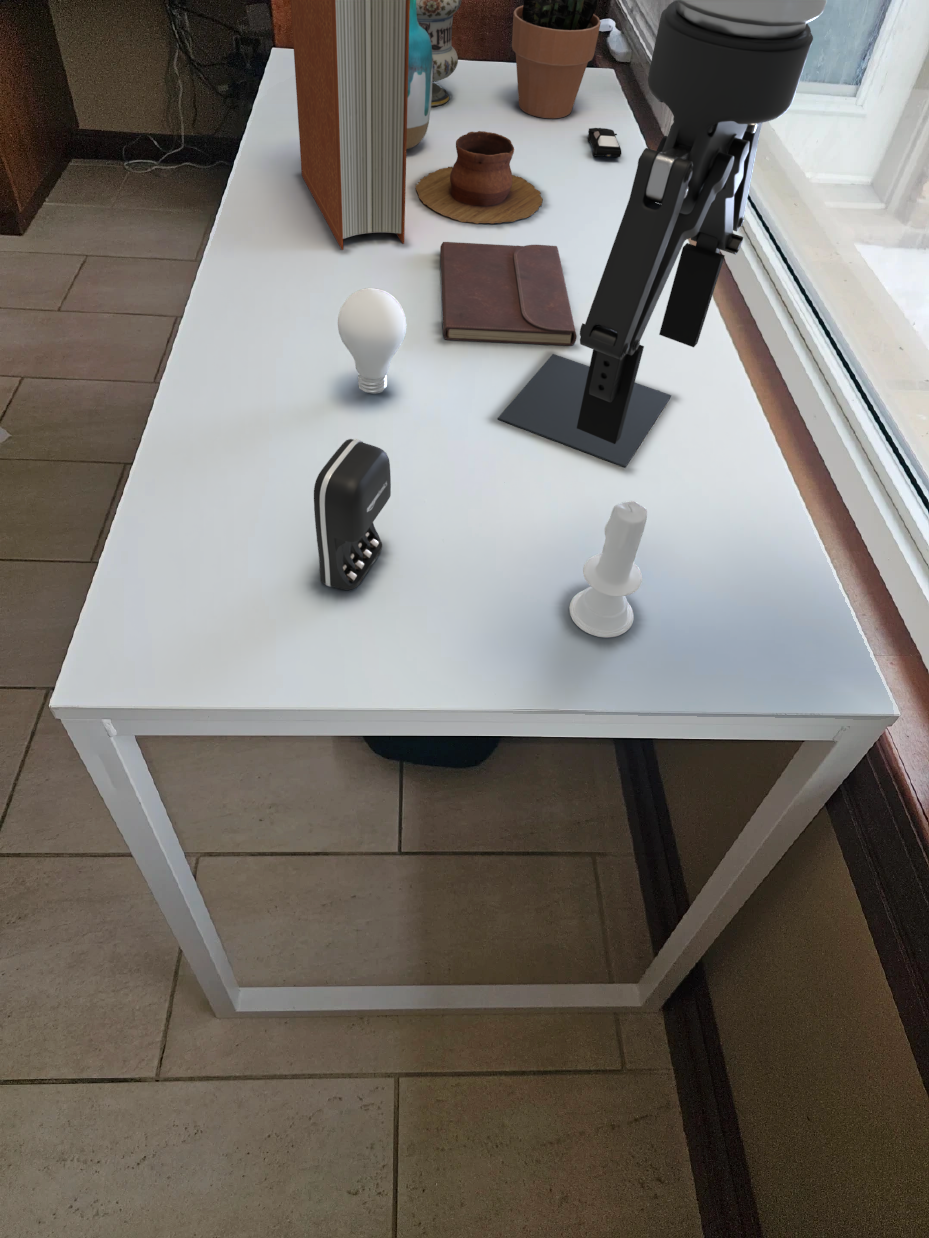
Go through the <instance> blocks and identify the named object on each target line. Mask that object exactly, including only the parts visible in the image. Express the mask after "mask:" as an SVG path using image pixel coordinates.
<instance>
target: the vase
mask: <svg viewBox="0 0 929 1238" xmlns="http://www.w3.org/2000/svg"><path fill="white" fill-rule="evenodd" d="M432 76H433V61H432V46H431V41H430V37H429V35H428V33H427V32H426V30H424V29H423V28H422V27H421V26H419V24H418V21H417V10H416V0H410V17H409V60H408V103H407V146H406V150H408V149H411V148H414V147H416V146H417V145H419V144H420V143H421V142H422V141H423V139H424V137H425V136H426V134H427V131H428V127H429V123H430V116H431V110H432V109H431V108H432V106H431V99H432V83H433V82H432Z"/></svg>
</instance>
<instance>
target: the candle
mask: <svg viewBox="0 0 929 1238" xmlns="http://www.w3.org/2000/svg"><path fill="white" fill-rule="evenodd" d="M647 519H648V510H647V508H646V507H645V506H643V505H640V504H639V503H638V502H636V501H635V500H634V501H633V500H629V501H623V502H620V503H617V504H615V505H614V506H613V508H612V510H611V513H610V516H609V519H608V520H607V522H606V524H605V526H604V537H605V539H604V543H603V546H602V550H601V553H597V554H594V555H592V556H591V557H589V558H588V559H587V560H586V561H585V563H584V564H583V567H582V574H583V577H584V580H585V581H586V583H587V584H588V585H589V586H587V588H585V589H584V590H581V591H579V592H578V593H577V594H575V595H574V596H573V597H572V599H571V601H570V603H569V615H570V617H571V619H572V621H573V622H574V624H575V625H576V626H577V627H578V628H579V629H580V630H582V631H583V632H584V633H586V634H589V635H592V636H595V637H598V638H615V637H619V636H621V635H623V634H625V633H626V632H627V631H629V630H630V628H631V627H632V625H633V623H634V619H635V618H634V615H635V614H634V611H633V608H632V607H631V604H630V603H629V601H628V599H627V596H630V595H633V594H634V593H635V592H637V591H638V590H639V589H640V588H641V586H642V583H643V574H642V571H641V569H640V567H639V566H638V565H637V564H636V563H635V559H636V556H637V552H638V551H639V547H640V544H641V540H642V538H643V535H644V531H645V528H646V523H647Z"/></svg>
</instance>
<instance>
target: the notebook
mask: <svg viewBox="0 0 929 1238" xmlns="http://www.w3.org/2000/svg"><path fill="white" fill-rule="evenodd" d="M439 249H440V251H439V253H440V276H441V277H440V279H441V309H442V310H441V311H442V312H441V313H442V314H441V315H442V335H443V338H444V340H446V341H461V342H462V341H463V342H484V343H485V342H486V343H505V344H523V345H524V344H525V345H526V344H527V345H528V344H529V345H547V346H548V345H549V346H567V347H572V346H574V345H575V343H576V341H577V338H578V337H577V332H576V326H575V321H574V317H573V312H572V307H571V304H570V299H569V294H568V288H567V285H566V280H565V275H564V271H563V266H562V261H561V257H560V252H559V247H558V246H557V245H549V244H527V245H514V244H513V245H512V244H511V245H510V244H493V243H477V242H475V243H474V242H454V241H442V243H441V244H440V247H439Z"/></svg>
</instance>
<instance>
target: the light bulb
mask: <svg viewBox="0 0 929 1238" xmlns="http://www.w3.org/2000/svg"><path fill="white" fill-rule="evenodd" d="M407 327H408V326H407V317H406V314H405V311H404V309H403V307H402V304H401V303H400V302H399V301H398V300H397V298H395V297H394V295H392V294H391V293H389V292H388V291H385V290H384V289H380V288H375V287H367V288H366V287H365V288H362V289H359V290H357V291H355V292H353V293H351V294H350V295H349V296H348V297H347V298H346V299H345V300H344V302H343V303H342V305H341V306H340V309H339V313H338V316H337V329H338V330H337V331H338V334H339V337H340V339H341V342H342V343H343V345H344V346H345V348H346V349H347V350H348V351H349V353H350V355H351V356H352V358H353V360H354V365H355V370H356V372H357V374H358V377H357V383H358V385H357V387H358V388H359V390H360V391H362V392H364V393H365V394H370V395H376V394H381V393H383V392H384V391H385V389H386V388H387V387H388V373H389V371H390V366H391V361H392V359H393V357H394V356H395V354H396V352H397V351H398V350H399V349H400V347H401V345H402V344H403V343H404V340H405V337H406V334H407V333H406V332H407Z"/></svg>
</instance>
